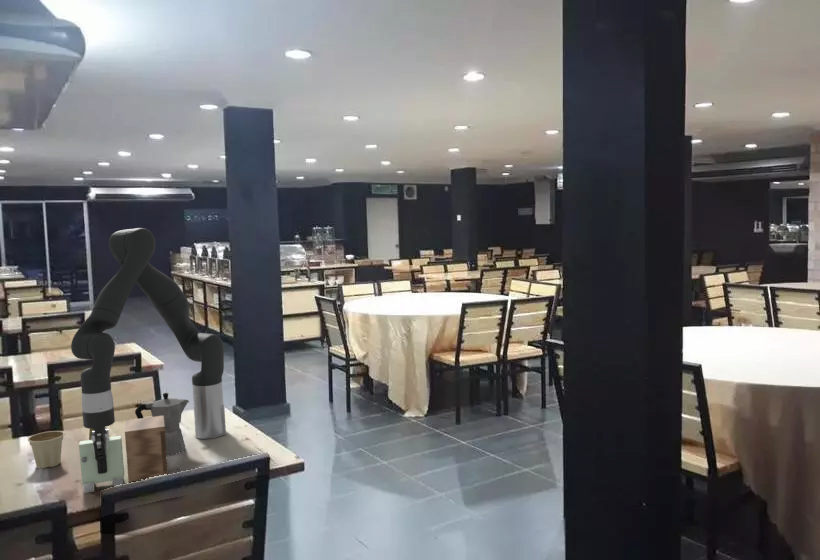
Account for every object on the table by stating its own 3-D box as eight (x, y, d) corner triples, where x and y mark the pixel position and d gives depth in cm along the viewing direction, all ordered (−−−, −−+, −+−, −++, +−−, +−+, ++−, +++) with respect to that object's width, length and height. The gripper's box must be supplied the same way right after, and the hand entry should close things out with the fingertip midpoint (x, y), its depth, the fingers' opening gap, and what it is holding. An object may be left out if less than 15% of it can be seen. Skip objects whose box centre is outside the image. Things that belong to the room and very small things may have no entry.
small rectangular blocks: (123, 478, 182) (123, 470, 181) (123, 486, 176) (122, 477, 176) (85, 484, 178) (84, 476, 178) (83, 493, 173) (83, 484, 172)
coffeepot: (189, 442, 209) (186, 386, 208) (194, 451, 201) (190, 393, 199) (137, 451, 203) (132, 393, 201) (139, 461, 194) (135, 401, 192)
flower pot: (39, 459, 198) (37, 431, 197) (72, 457, 199) (69, 429, 198) (23, 471, 189) (21, 442, 188) (58, 469, 190) (55, 440, 189)
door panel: (124, 474, 180) (121, 435, 179) (123, 480, 177) (120, 439, 176) (83, 481, 177) (80, 441, 175) (82, 486, 173) (78, 445, 172)
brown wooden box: (166, 462, 193) (163, 415, 191) (168, 475, 182) (164, 426, 181) (129, 468, 189) (125, 420, 187) (128, 482, 179) (124, 431, 177)
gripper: (112, 412, 170) (117, 477, 172) (114, 398, 183) (119, 459, 185) (79, 416, 167) (85, 482, 169) (84, 402, 180) (89, 464, 182)
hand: (103, 470), depth 177 cm, fingers closed on door panel, 3 cm apart
